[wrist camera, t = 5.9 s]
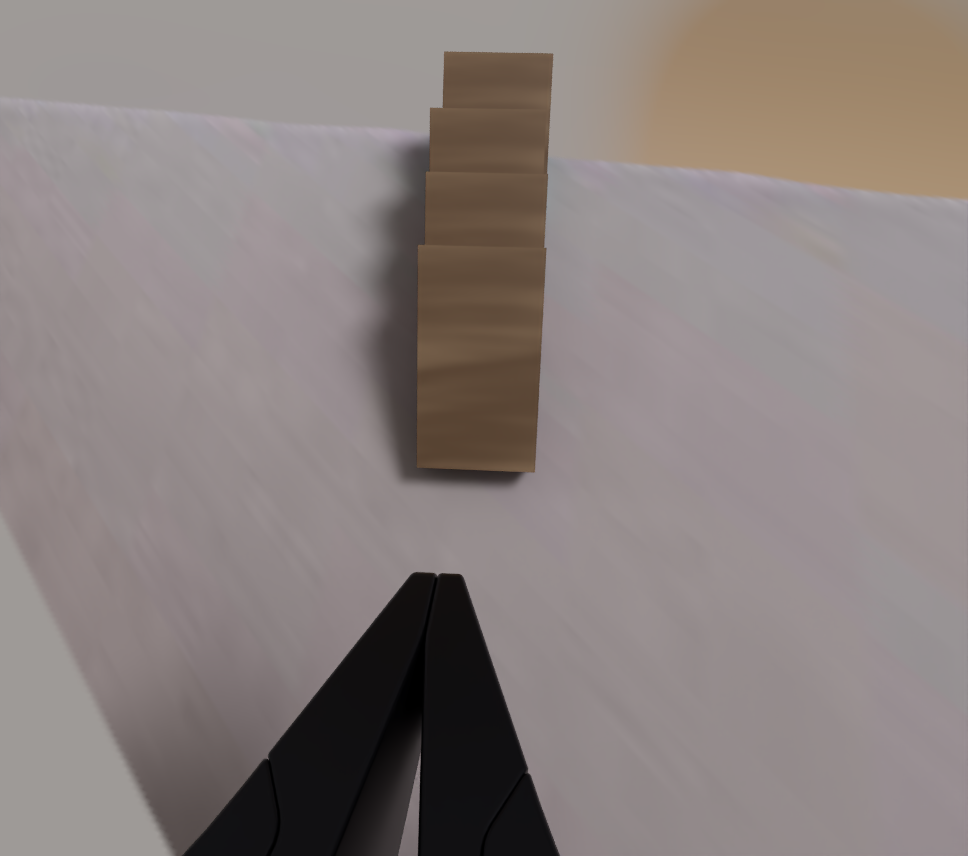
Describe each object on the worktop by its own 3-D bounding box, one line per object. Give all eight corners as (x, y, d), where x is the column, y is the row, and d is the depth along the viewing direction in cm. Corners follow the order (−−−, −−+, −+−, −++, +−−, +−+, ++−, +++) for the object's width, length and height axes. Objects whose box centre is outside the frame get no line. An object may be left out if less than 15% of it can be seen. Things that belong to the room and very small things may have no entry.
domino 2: (536, 394, 22) (547, 174, 20) (423, 390, 22) (425, 171, 21) (534, 390, 24) (544, 185, 22) (428, 386, 24) (431, 183, 22)
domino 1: (534, 472, 21) (546, 248, 19) (416, 467, 21) (417, 244, 20) (532, 462, 23) (543, 254, 21) (422, 458, 23) (424, 251, 21)
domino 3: (535, 325, 23) (546, 109, 21) (427, 321, 23) (430, 107, 22) (533, 325, 25) (543, 124, 23) (432, 322, 25) (435, 123, 23)
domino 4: (542, 257, 24) (553, 53, 23) (438, 253, 24) (444, 51, 23) (540, 264, 26) (549, 73, 24) (442, 260, 26) (448, 71, 25)
